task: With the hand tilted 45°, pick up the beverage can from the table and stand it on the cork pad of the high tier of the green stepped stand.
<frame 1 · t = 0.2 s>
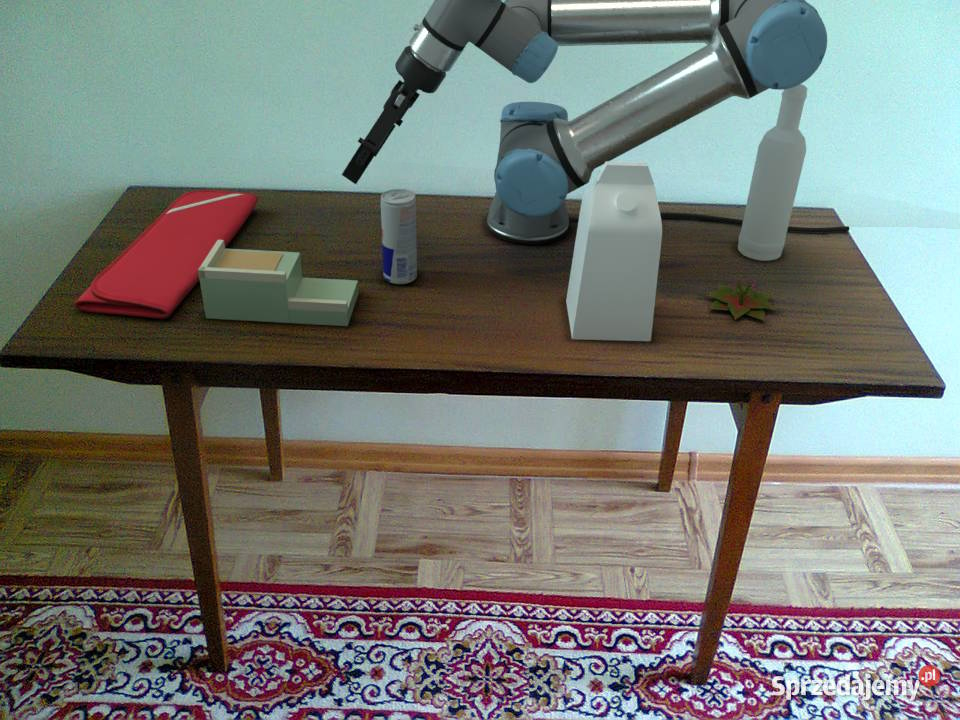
hand: (359, 165, 152), 16 cm above the table, tool tilted 30°, fingers open, 13 cm apart
beverage can: (400, 279, 153), on the table
dish drying mat: (177, 257, 157), on the table
bottle: (759, 252, 165), on the table
milk: (606, 321, 144), on the table
lily flower: (739, 306, 149), on the table
green stepped stand: (284, 305, 145), on the table
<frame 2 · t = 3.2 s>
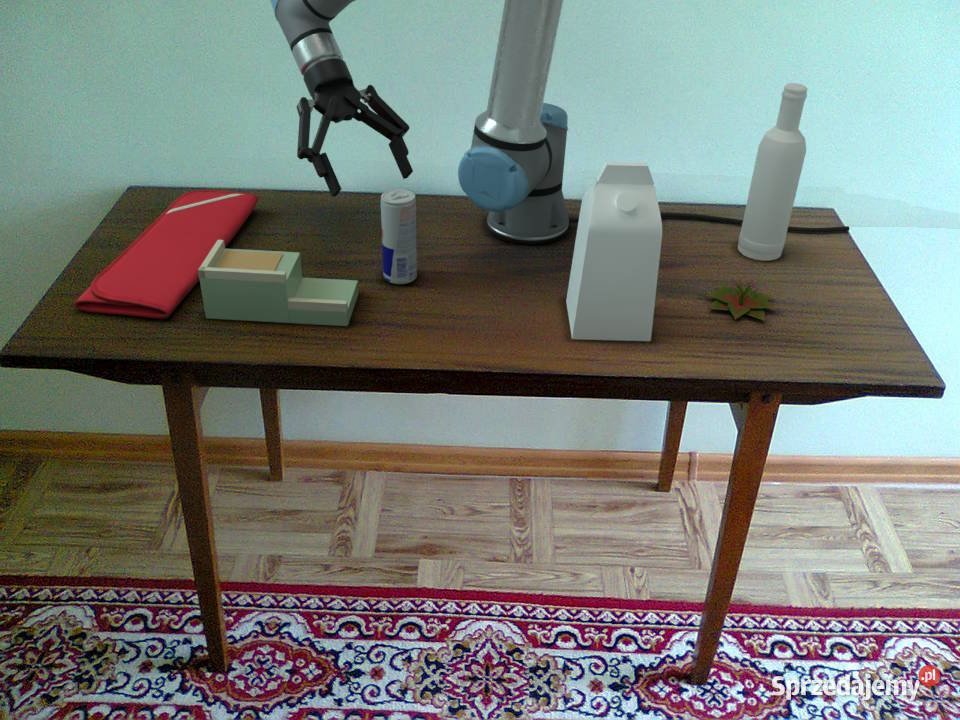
hand: (373, 184, 150), 14 cm above the table, tool tilted 45°, fingers open, 13 cm apart
nothing on the table moved.
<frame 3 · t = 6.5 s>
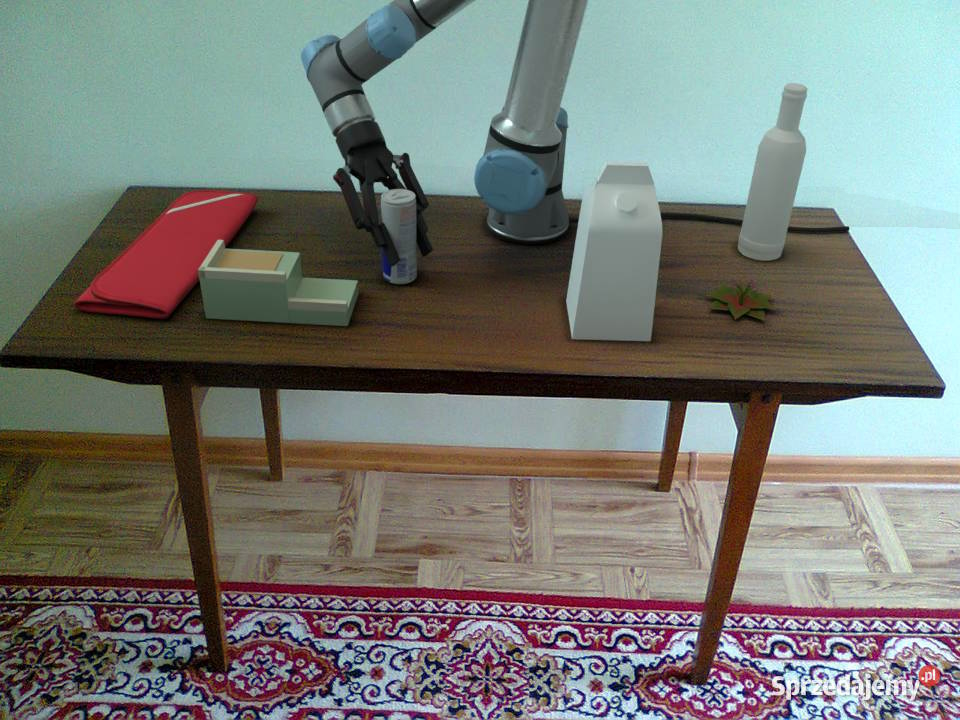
hand: (411, 258, 148), 5 cm above the table, tool tilted 45°, fingers closed on beverage can, 6 cm apart
beverage can: (400, 279, 153), on the table, touching gripper
everything else where it was.
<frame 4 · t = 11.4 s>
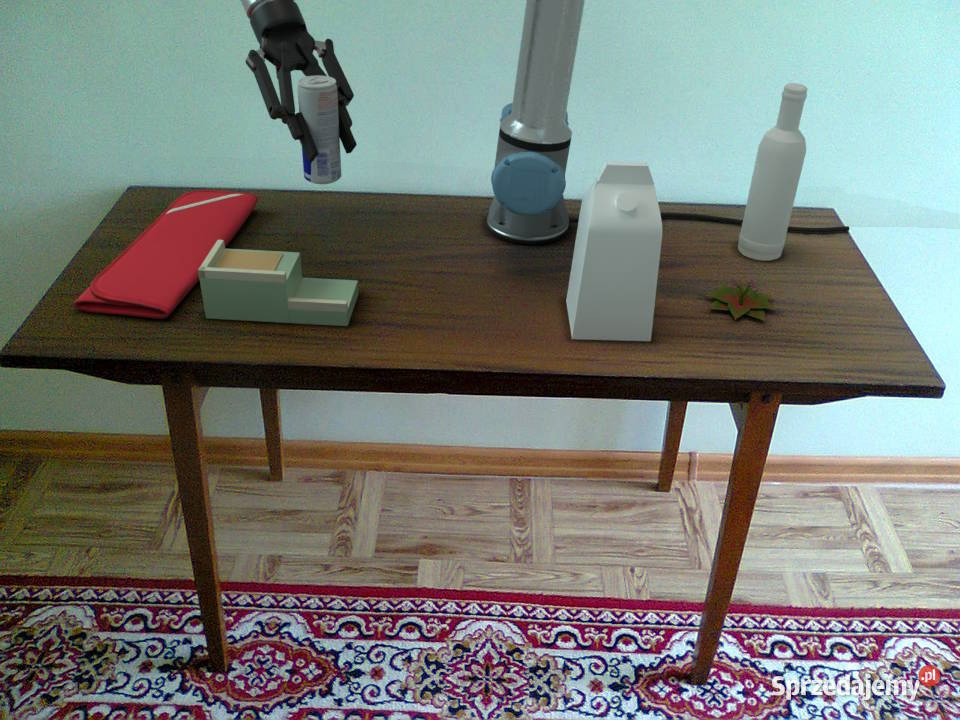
hand: (332, 153, 133), 25 cm above the table, tool tilted 45°, fingers closed on beverage can, 6 cm apart
beverage can: (323, 180, 139), point 19 cm above the table, touching gripper
everything else where it was.
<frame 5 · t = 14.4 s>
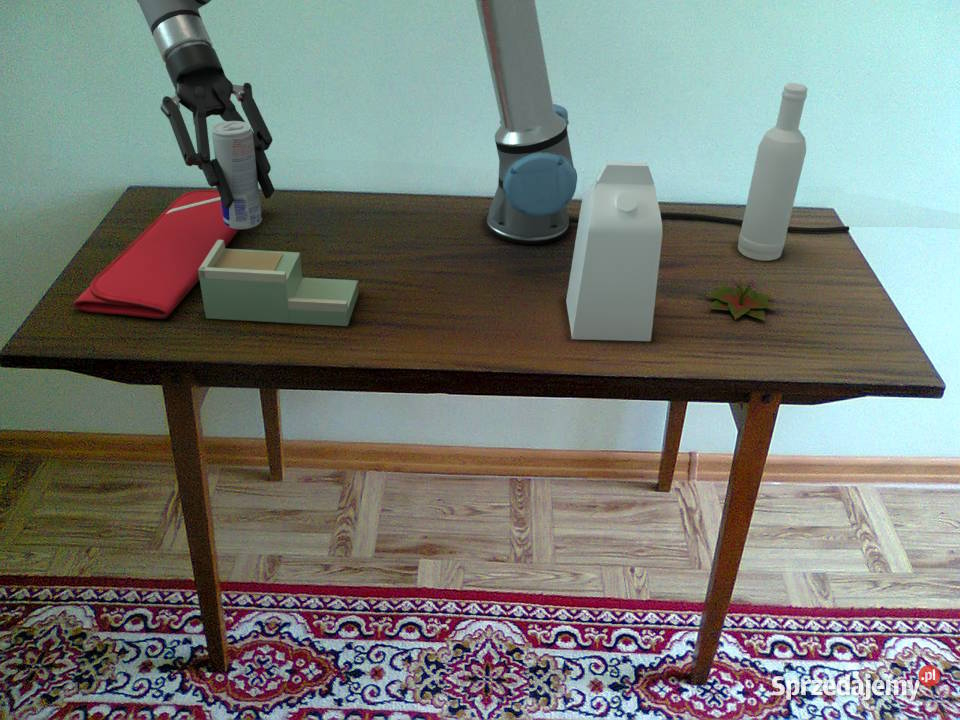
hand: (250, 199, 132), 19 cm above the table, tool tilted 45°, fingers closed on beverage can, 6 cm apart
beverage can: (243, 224, 138), point 14 cm above the table, touching gripper
everything else where it was.
when the fingers open (13 cm above the table, at t = 16.5 s): beverage can stays where it is, resting on green stepped stand.
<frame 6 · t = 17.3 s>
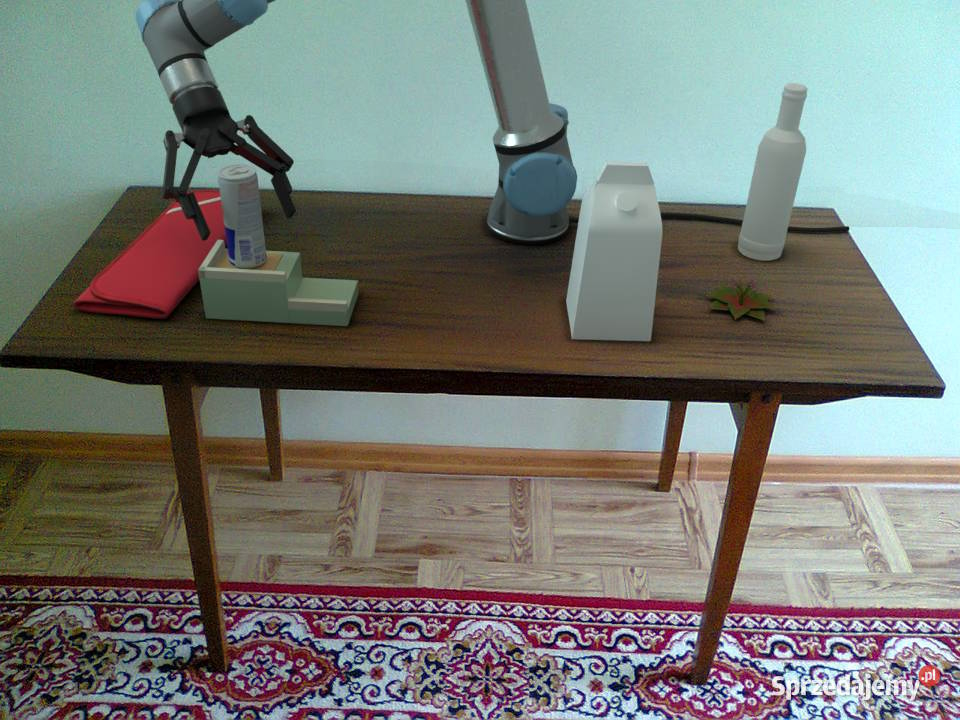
hand: (250, 225, 136), 14 cm above the table, tool tilted 45°, fingers open, 13 cm apart
beverage can: (248, 263, 141), point 7 cm above the table, touching green stepped stand
everything else where it was.
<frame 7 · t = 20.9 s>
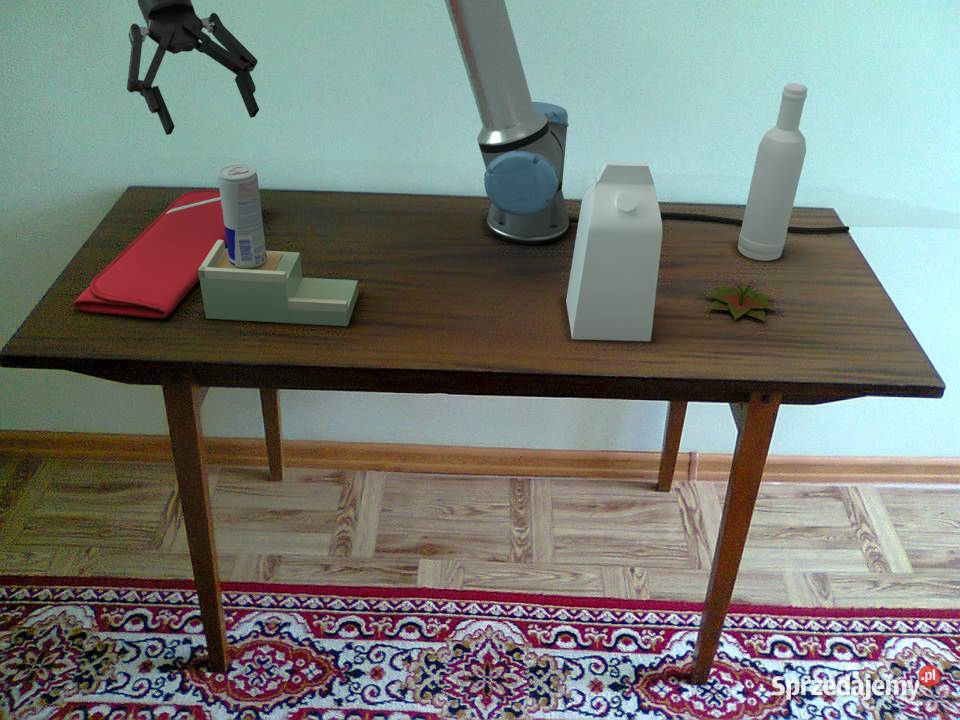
hand: (213, 122, 139), 26 cm above the table, tool tilted 40°, fingers open, 13 cm apart
nothing on the table moved.
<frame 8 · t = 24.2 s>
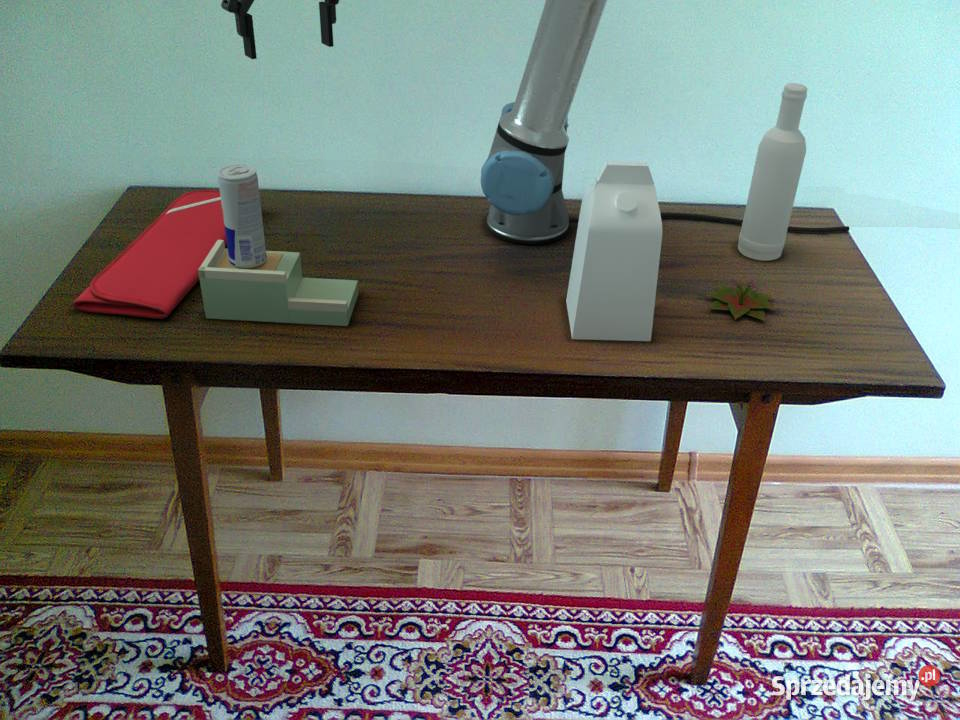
hand: (290, 51, 147), 33 cm above the table, tool pointing down, fingers open, 13 cm apart
nothing on the table moved.
at the end: beverage can inside the target area on the green stepped stand (0.7 cm from its centre), point 7.0 cm above the green stepped stand's base; beverage can tilted 0°; the gripper is holding nothing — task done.
